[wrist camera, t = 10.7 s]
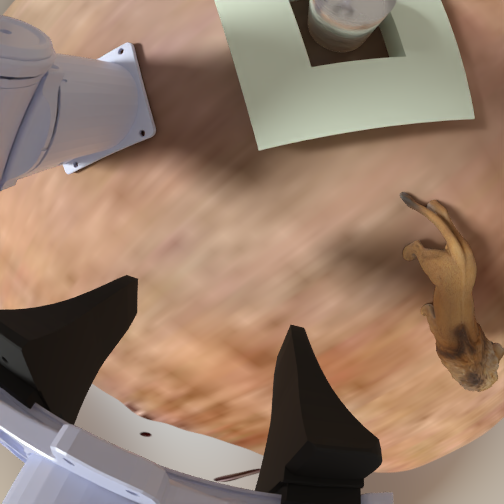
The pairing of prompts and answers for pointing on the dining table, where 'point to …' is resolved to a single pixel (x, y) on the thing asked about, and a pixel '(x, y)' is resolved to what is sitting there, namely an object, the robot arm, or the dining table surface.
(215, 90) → the dining table surface
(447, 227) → the lion figurine
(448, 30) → the socket block
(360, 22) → the peg
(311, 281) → the dining table surface
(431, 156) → the dining table surface
